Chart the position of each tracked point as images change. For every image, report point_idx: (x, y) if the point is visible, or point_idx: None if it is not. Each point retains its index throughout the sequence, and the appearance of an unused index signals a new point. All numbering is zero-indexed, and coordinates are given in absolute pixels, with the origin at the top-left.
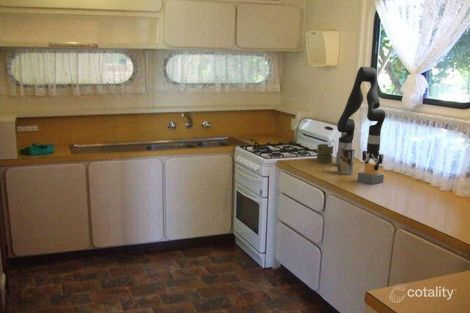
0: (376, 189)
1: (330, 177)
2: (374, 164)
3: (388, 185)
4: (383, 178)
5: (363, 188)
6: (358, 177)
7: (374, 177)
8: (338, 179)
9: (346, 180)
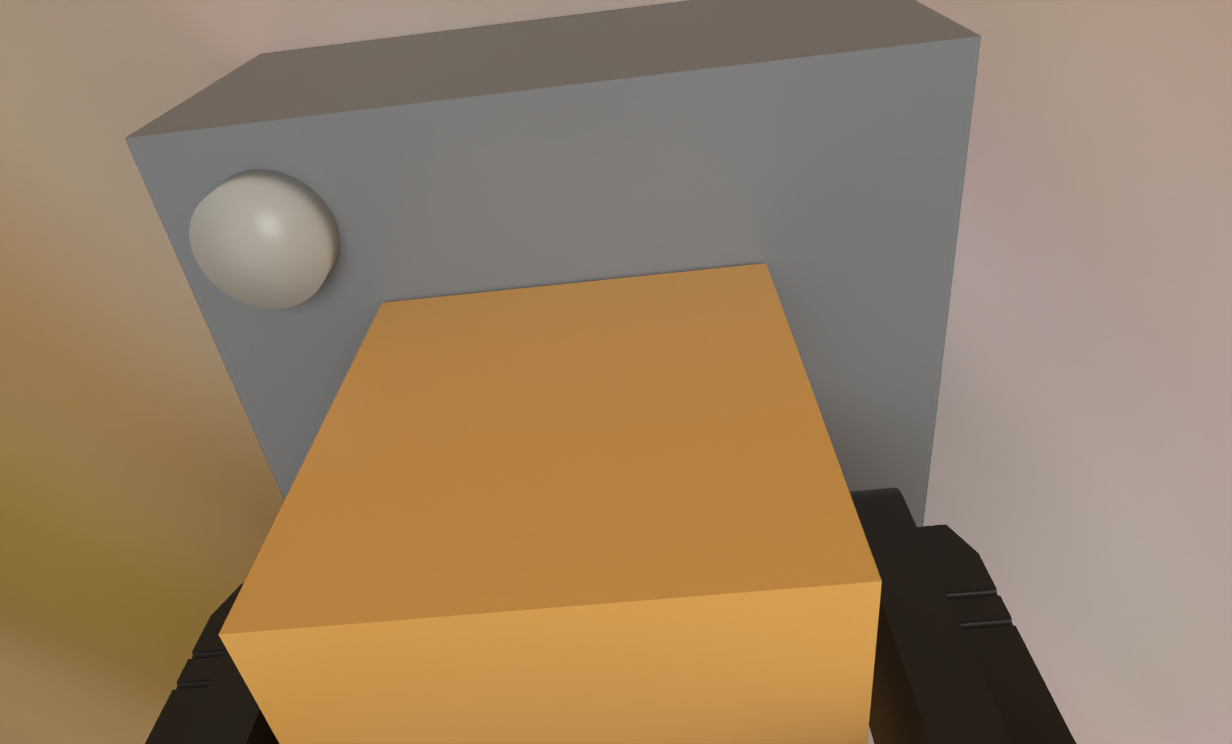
0: (1131, 618)
1: (23, 735)
2: (729, 741)
3: (1188, 120)
4: (919, 7)
5: None
6: None
7: None
8: None
9: None
